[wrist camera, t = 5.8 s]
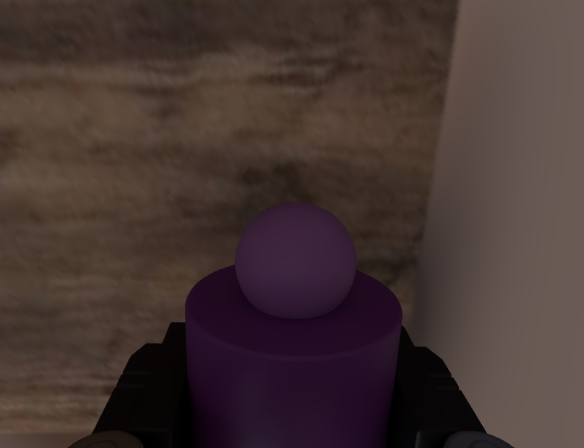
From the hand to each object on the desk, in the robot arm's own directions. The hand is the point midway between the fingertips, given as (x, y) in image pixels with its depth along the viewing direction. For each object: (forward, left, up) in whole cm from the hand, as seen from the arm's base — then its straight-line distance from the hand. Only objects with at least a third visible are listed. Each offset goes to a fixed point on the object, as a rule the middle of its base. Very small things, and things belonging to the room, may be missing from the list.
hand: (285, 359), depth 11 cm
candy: (0, 0, 0) cm, 0 cm away
